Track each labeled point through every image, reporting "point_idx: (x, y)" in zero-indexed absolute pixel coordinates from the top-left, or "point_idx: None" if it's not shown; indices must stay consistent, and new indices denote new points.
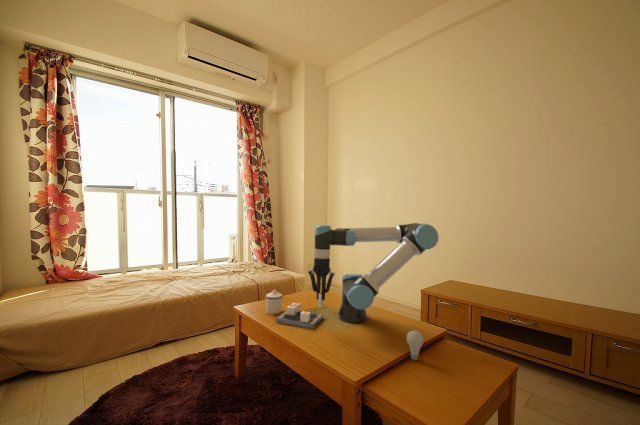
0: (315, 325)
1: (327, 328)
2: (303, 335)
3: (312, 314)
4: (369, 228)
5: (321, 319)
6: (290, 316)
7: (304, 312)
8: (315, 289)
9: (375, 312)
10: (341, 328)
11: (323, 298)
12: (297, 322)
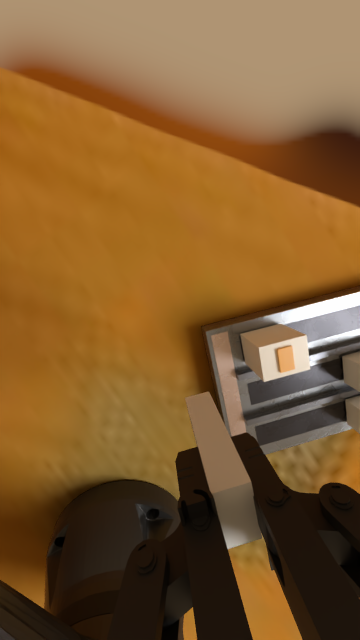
0: (208, 358)
1: (149, 374)
2: (198, 241)
3: (276, 430)
4: None
5: None
6: (352, 341)
7: (290, 355)
8: (330, 522)
9: None
10: (96, 413)
11: (182, 466)
12: (287, 309)
